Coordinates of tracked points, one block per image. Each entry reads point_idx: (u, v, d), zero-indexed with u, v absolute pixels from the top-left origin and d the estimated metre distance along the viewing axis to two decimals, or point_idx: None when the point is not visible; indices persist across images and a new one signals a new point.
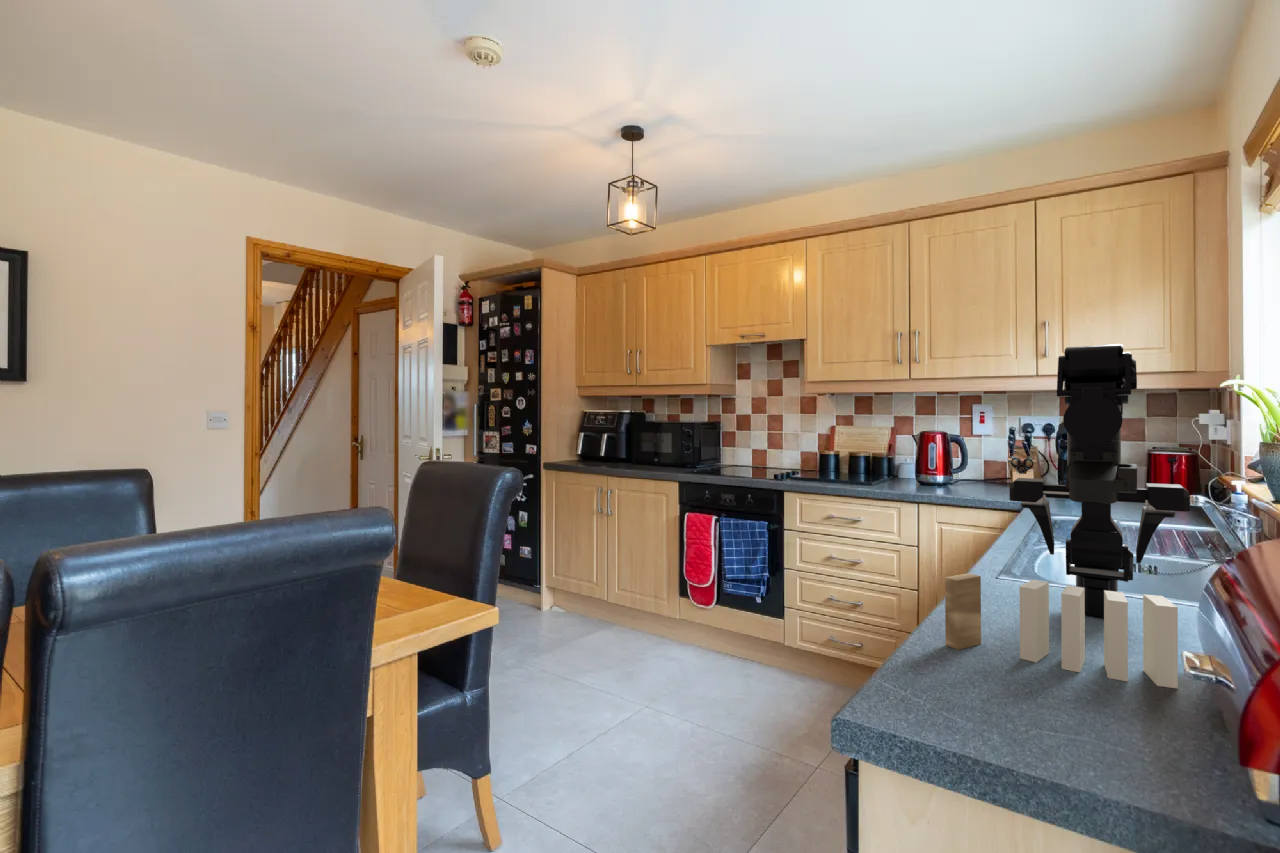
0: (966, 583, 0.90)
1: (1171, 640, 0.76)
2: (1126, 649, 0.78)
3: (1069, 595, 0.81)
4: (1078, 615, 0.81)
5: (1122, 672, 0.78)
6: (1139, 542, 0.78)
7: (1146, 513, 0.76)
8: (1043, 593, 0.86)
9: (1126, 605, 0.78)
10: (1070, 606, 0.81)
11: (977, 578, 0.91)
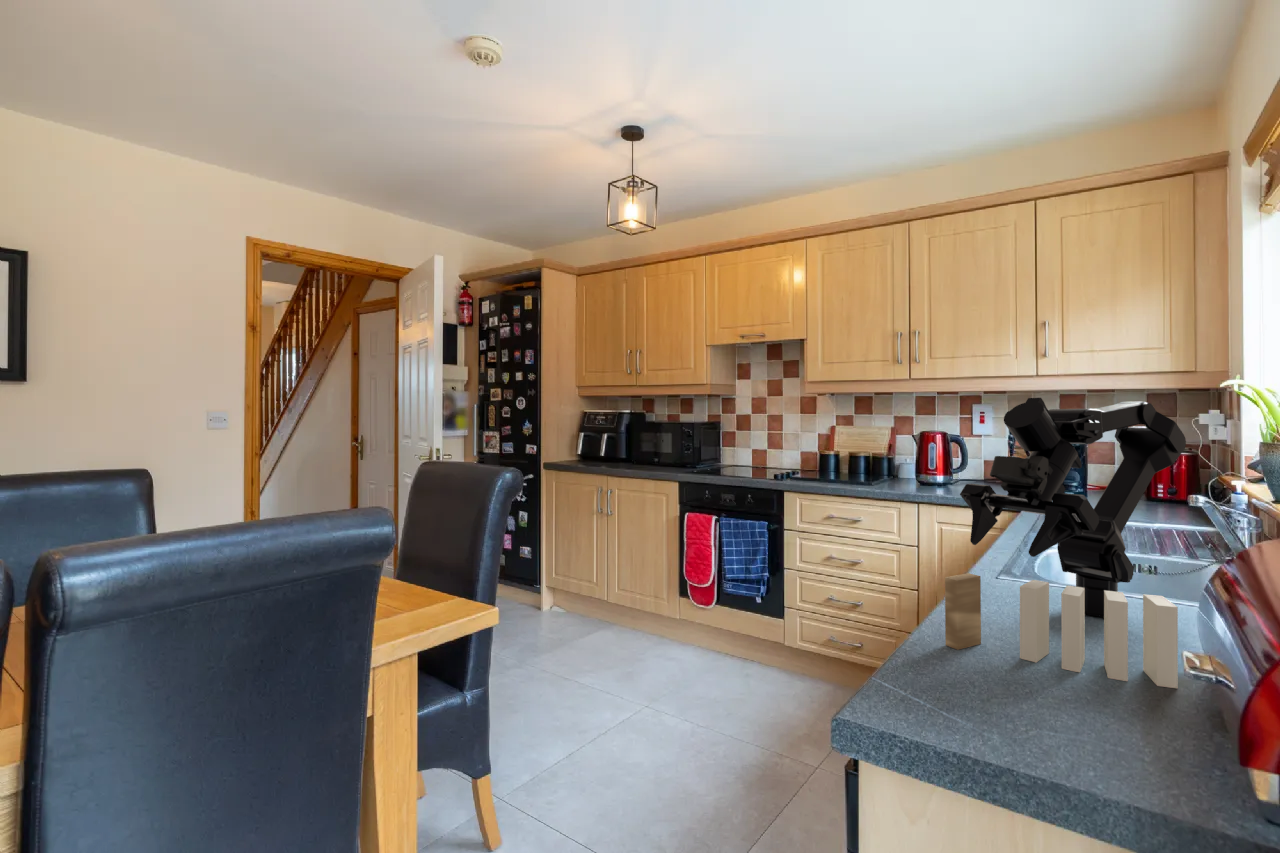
0: (966, 583, 0.90)
1: (1171, 640, 0.76)
2: (1126, 649, 0.78)
3: (1069, 595, 0.81)
4: (1078, 615, 0.81)
5: (1122, 672, 0.78)
6: (1036, 535, 0.90)
7: (1046, 506, 0.90)
8: (1043, 593, 0.86)
9: (1126, 605, 0.78)
10: (1070, 606, 0.81)
11: (977, 578, 0.91)
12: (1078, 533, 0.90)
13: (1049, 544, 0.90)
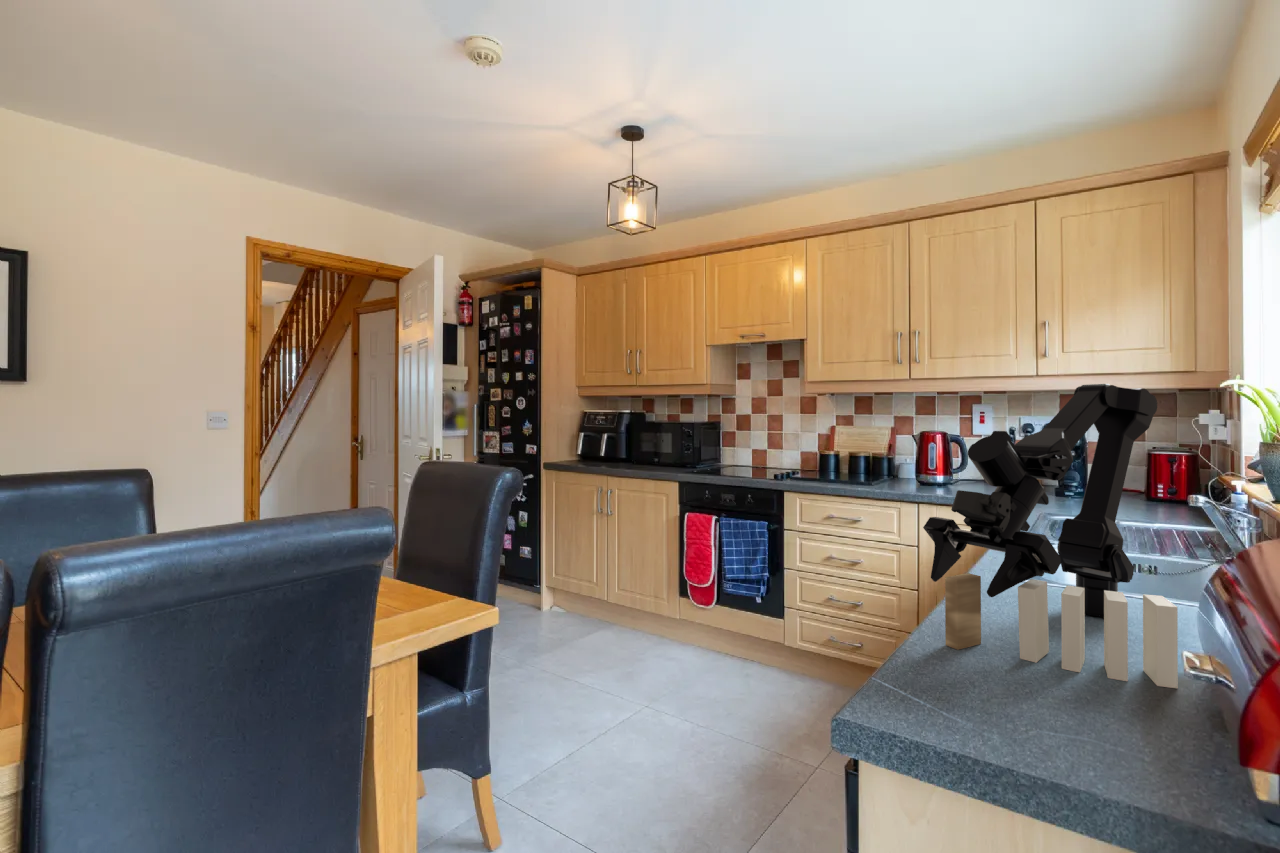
0: (966, 583, 0.90)
1: (1171, 640, 0.76)
2: (1126, 649, 0.78)
3: (1069, 595, 0.81)
4: (1078, 615, 0.81)
5: (1122, 672, 0.78)
6: (995, 575, 0.87)
7: (1006, 545, 0.87)
8: (1041, 593, 0.86)
9: (1126, 605, 0.78)
10: (1070, 606, 0.81)
11: (977, 578, 0.91)
12: (1039, 574, 0.86)
13: (1008, 584, 0.86)
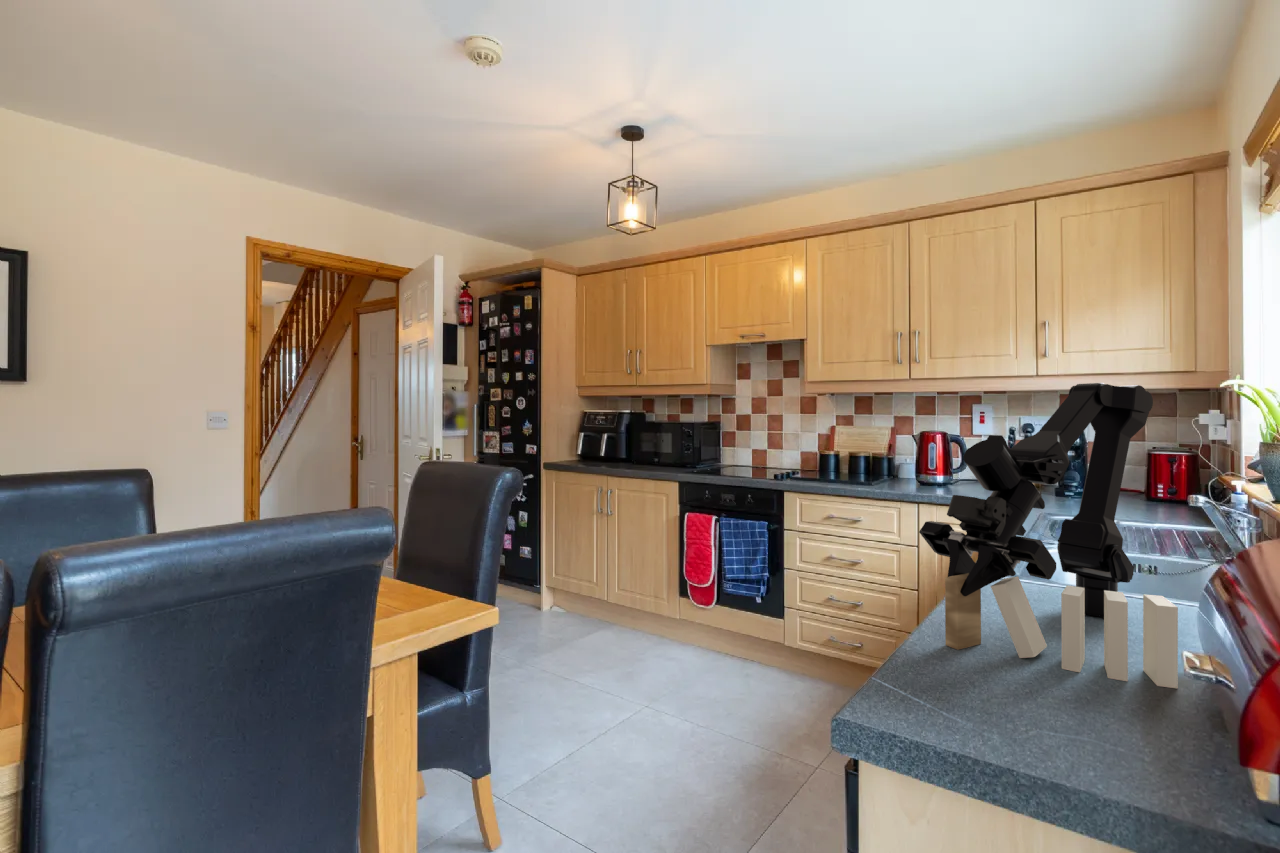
0: None
1: (1171, 640, 0.76)
2: (1126, 649, 0.78)
3: (1069, 595, 0.81)
4: (1078, 615, 0.81)
5: (1122, 672, 0.78)
6: (969, 574, 0.89)
7: (979, 545, 0.90)
8: (1015, 587, 0.88)
9: (1126, 605, 0.78)
10: (1070, 606, 0.81)
11: None
12: (1011, 574, 0.89)
13: (981, 584, 0.89)
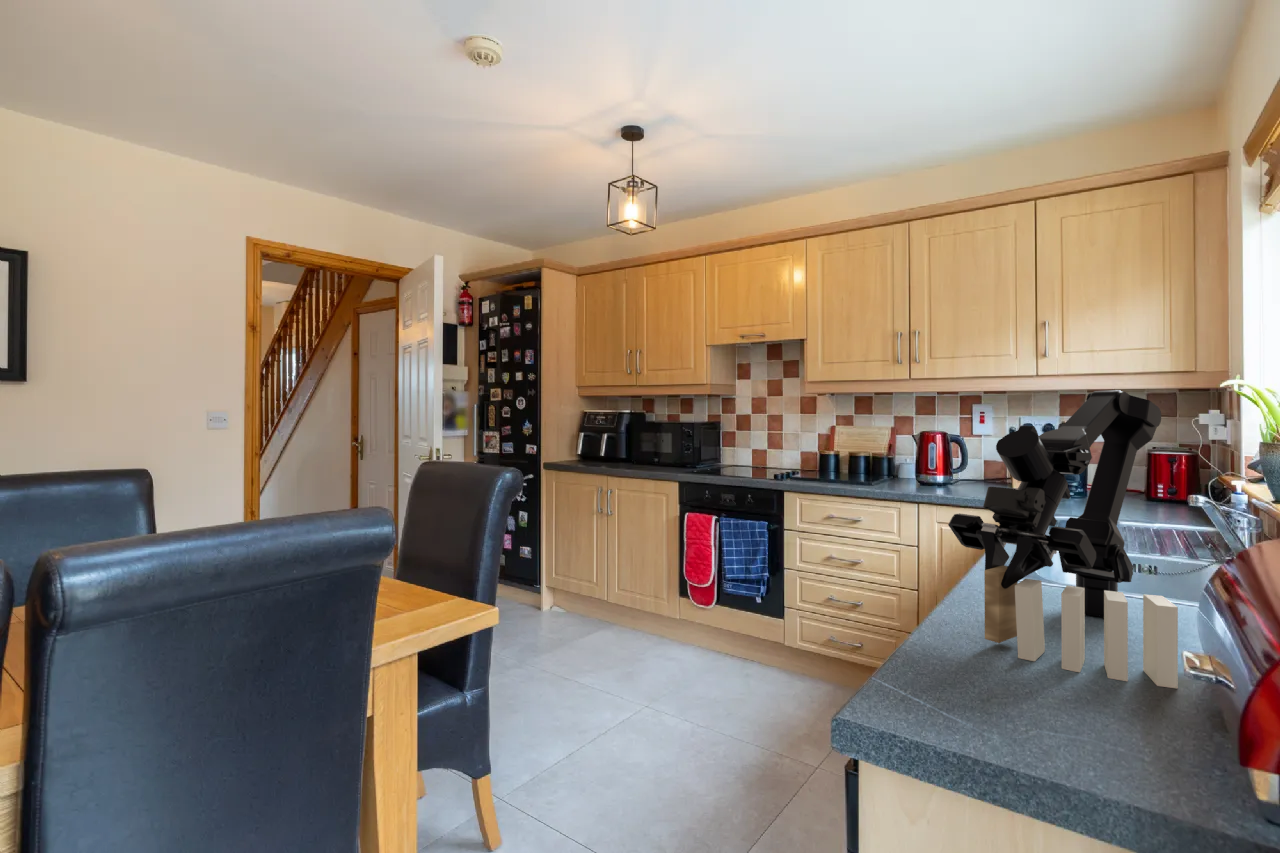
0: None
1: (1171, 640, 0.76)
2: (1126, 649, 0.78)
3: (1069, 595, 0.81)
4: (1078, 615, 0.81)
5: (1122, 672, 0.78)
6: (1008, 566, 0.89)
7: (1018, 537, 0.89)
8: (1037, 591, 0.86)
9: (1126, 605, 0.78)
10: (1070, 606, 0.81)
11: None
12: (1048, 564, 0.89)
13: (1020, 576, 0.89)
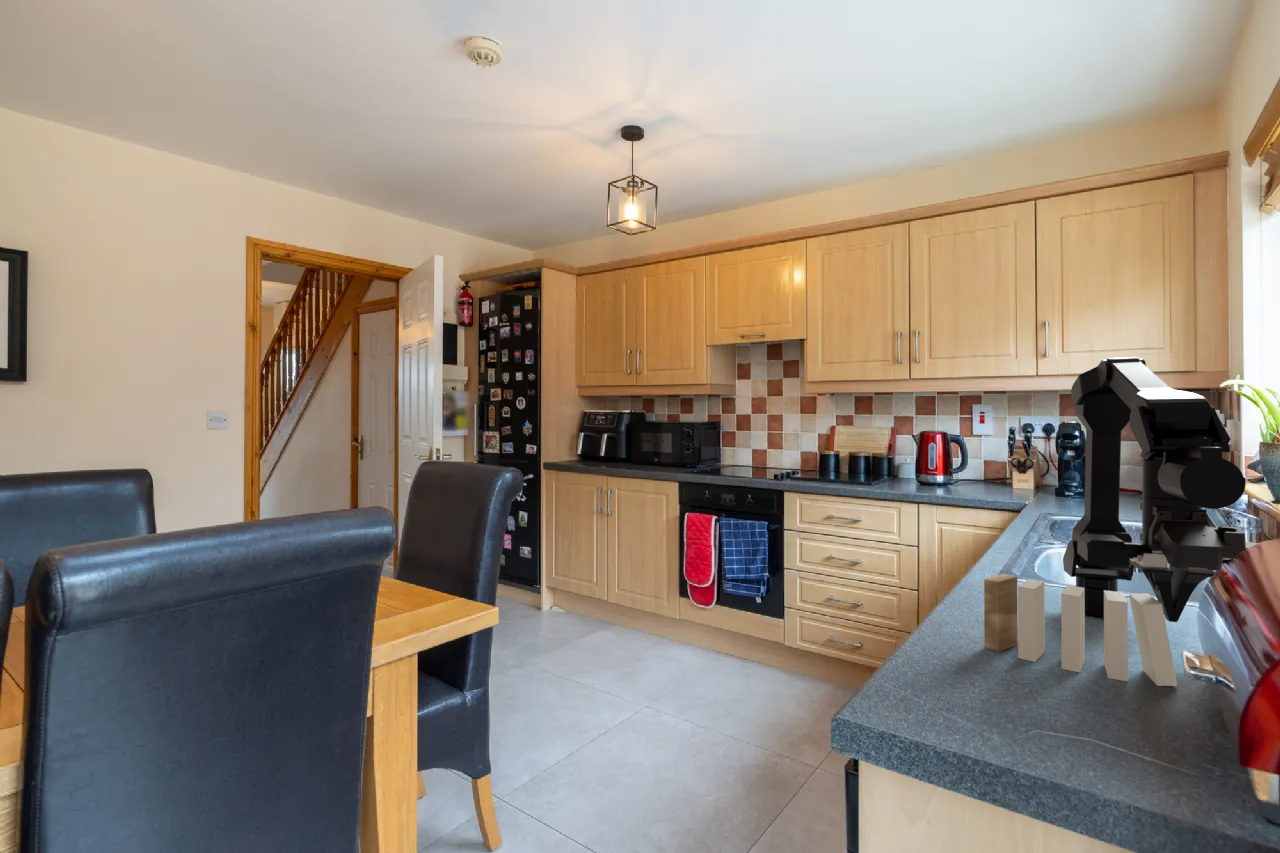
0: (1005, 584, 0.89)
1: (1162, 638, 0.76)
2: (1126, 649, 0.78)
3: (1069, 595, 0.81)
4: (1078, 615, 0.81)
5: (1122, 672, 0.78)
6: (1177, 601, 0.77)
7: (1190, 573, 0.75)
8: (1040, 592, 0.86)
9: (1126, 605, 0.78)
10: (1070, 606, 0.81)
11: (1014, 579, 0.90)
12: None
13: None
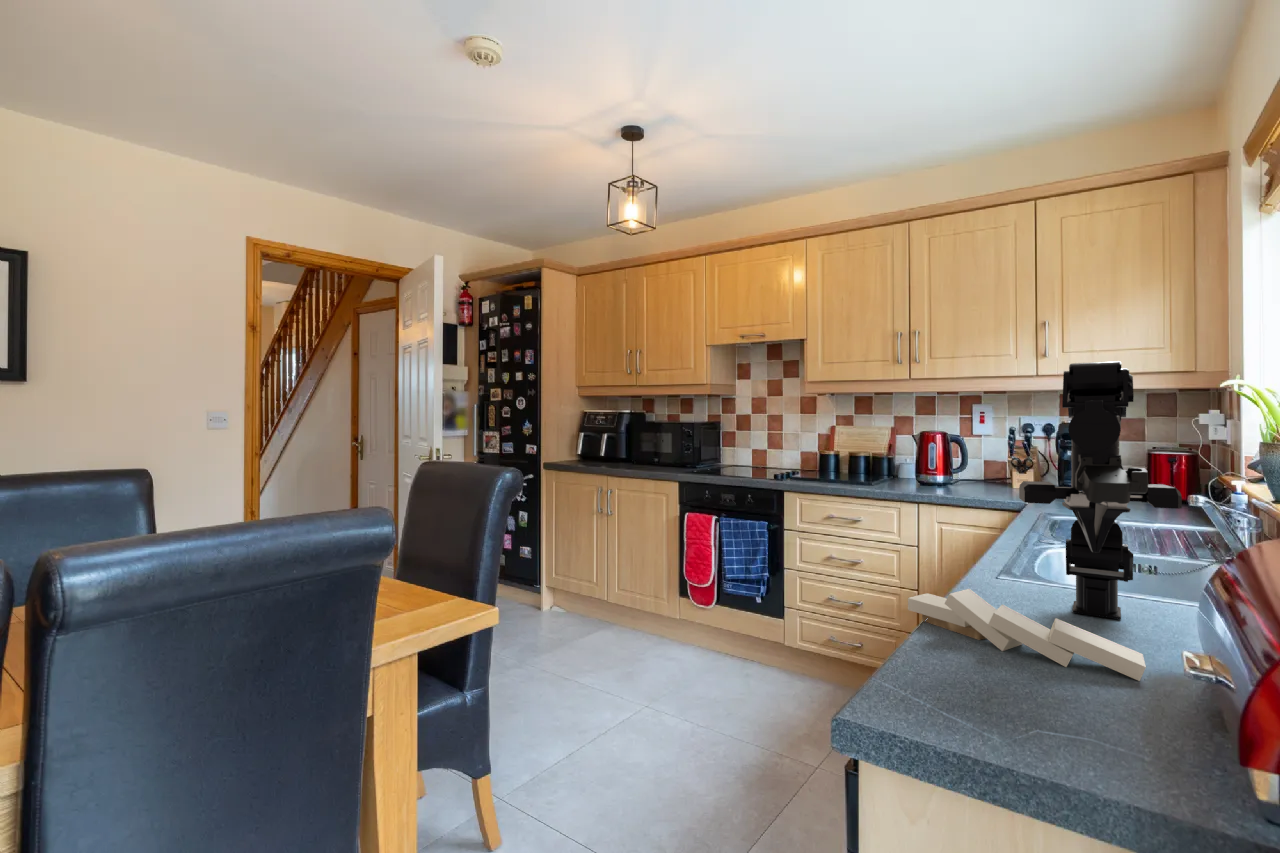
0: None
1: (1089, 648, 0.81)
2: (1039, 637, 0.84)
3: (947, 599, 0.95)
4: (963, 605, 0.93)
5: (1062, 653, 0.83)
6: (1099, 534, 0.91)
7: (1108, 509, 0.89)
8: (925, 596, 1.04)
9: (996, 615, 0.88)
10: (955, 605, 0.94)
11: None
12: None
13: None
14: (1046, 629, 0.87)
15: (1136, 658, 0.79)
